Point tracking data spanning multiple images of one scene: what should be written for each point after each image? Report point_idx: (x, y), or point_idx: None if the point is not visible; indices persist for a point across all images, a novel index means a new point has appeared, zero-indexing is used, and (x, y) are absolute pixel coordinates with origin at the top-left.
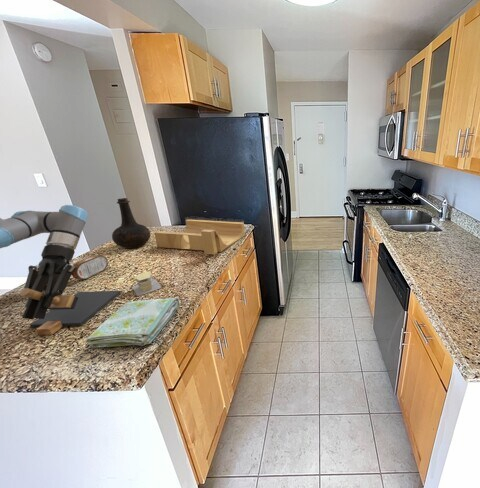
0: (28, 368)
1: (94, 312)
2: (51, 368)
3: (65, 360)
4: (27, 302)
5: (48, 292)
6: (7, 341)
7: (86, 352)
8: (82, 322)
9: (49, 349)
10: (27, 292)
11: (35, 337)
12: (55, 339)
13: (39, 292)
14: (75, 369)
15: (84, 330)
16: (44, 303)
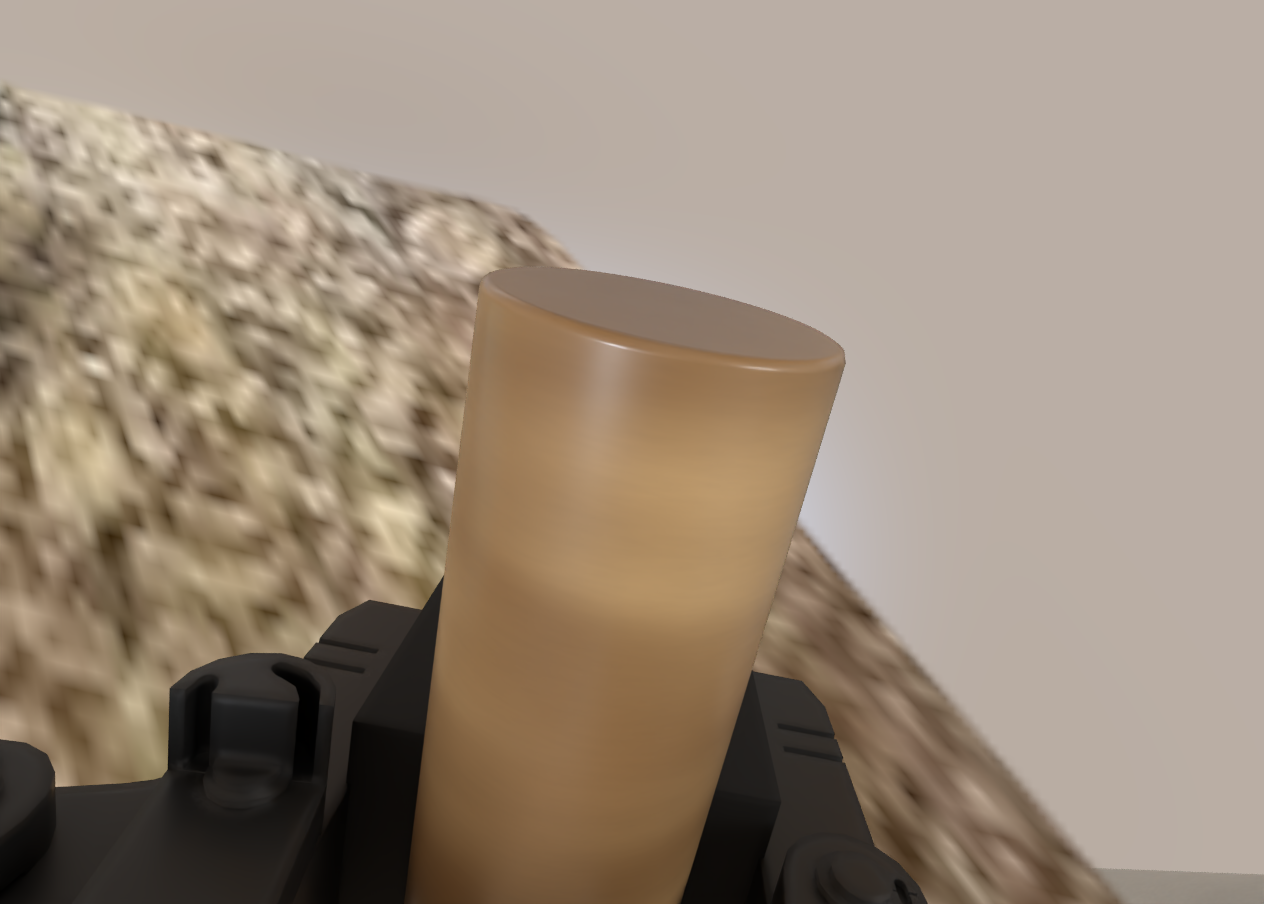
0: (422, 245)
1: None
2: (243, 200)
3: (166, 249)
4: (820, 755)
5: (167, 826)
6: (905, 666)
7: (6, 292)
8: None
9: (375, 421)
10: (525, 269)
11: None
12: (397, 570)
13: (445, 770)
14: (54, 144)
15: (113, 672)
16: (381, 646)
